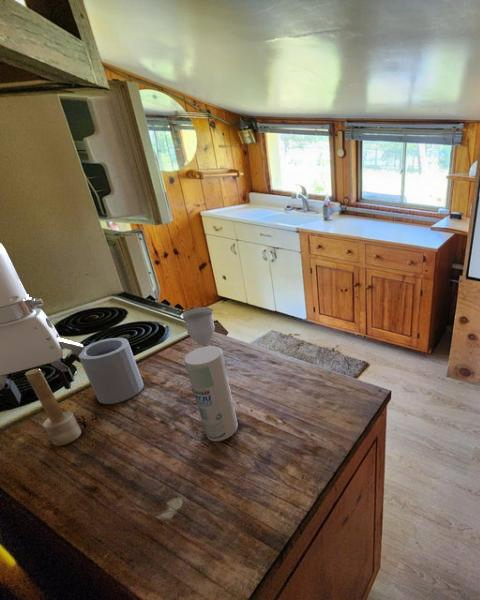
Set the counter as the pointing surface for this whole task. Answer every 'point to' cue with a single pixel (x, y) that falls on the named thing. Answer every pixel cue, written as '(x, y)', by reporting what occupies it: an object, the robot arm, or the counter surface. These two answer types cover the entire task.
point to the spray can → (212, 391)
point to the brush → (53, 411)
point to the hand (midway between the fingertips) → (43, 392)
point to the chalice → (199, 324)
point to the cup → (111, 370)
